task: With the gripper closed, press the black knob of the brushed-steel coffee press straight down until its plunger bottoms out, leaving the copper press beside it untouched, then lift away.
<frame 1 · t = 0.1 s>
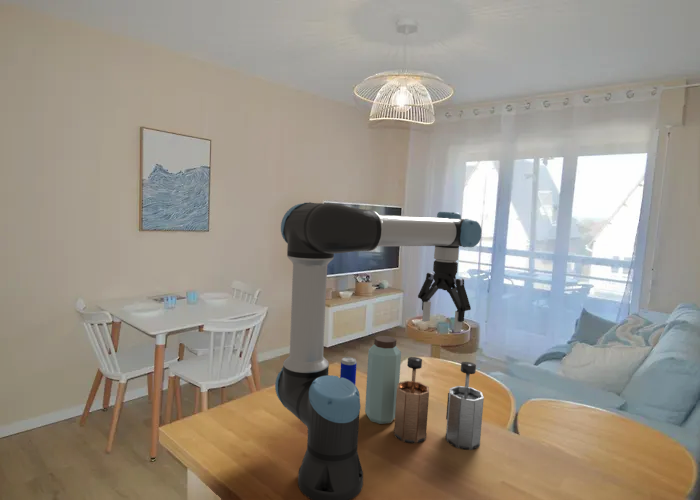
hand: (441, 326, 133), 28 cm above the table, fingers open, 13 cm apart
copper press plunger: (413, 377, 118), point 17 cm above the table, slide at 0.0 cm
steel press: (462, 440, 117), on the table
water bottle: (380, 417, 128), on the table
beverage can: (346, 403, 136), on the table
copper press: (409, 434, 119), on the table
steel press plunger: (467, 382, 116), point 17 cm above the table, slide at 0.0 cm
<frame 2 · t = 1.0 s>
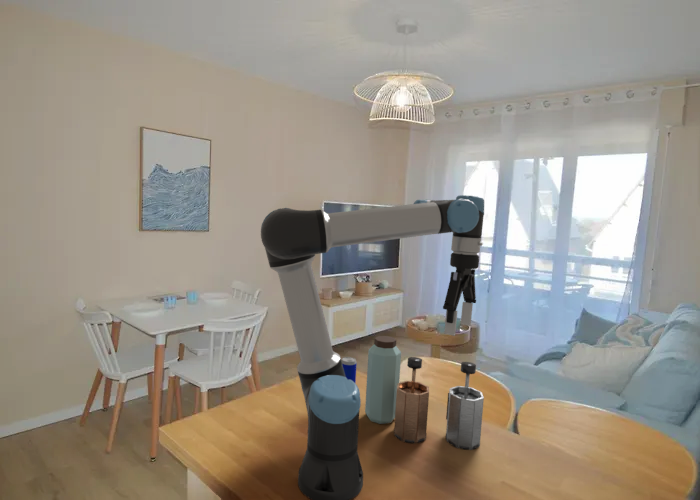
hand: (458, 329, 114), 32 cm above the table, fingers open, 13 cm apart
nothing on the table moved.
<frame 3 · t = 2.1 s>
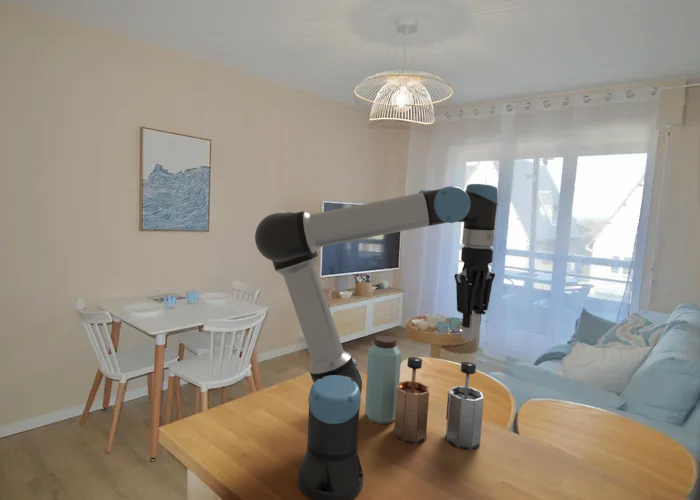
hand: (470, 338, 105), 32 cm above the table, fingers closed
nothing on the table moved.
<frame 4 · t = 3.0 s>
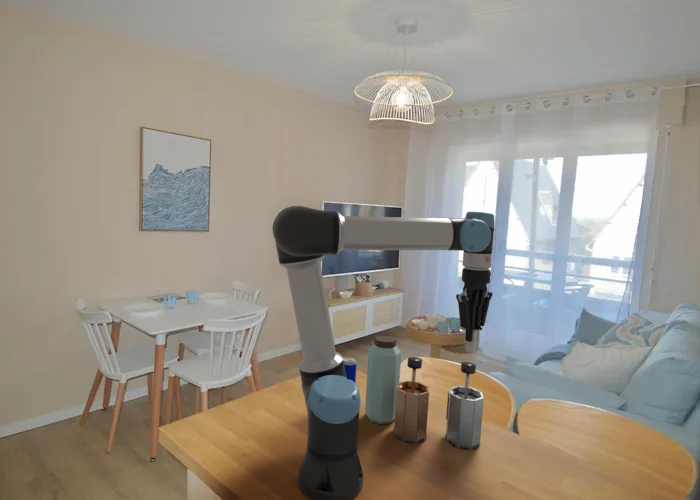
hand: (470, 351, 115), 26 cm above the table, fingers closed
nothing on the table moved.
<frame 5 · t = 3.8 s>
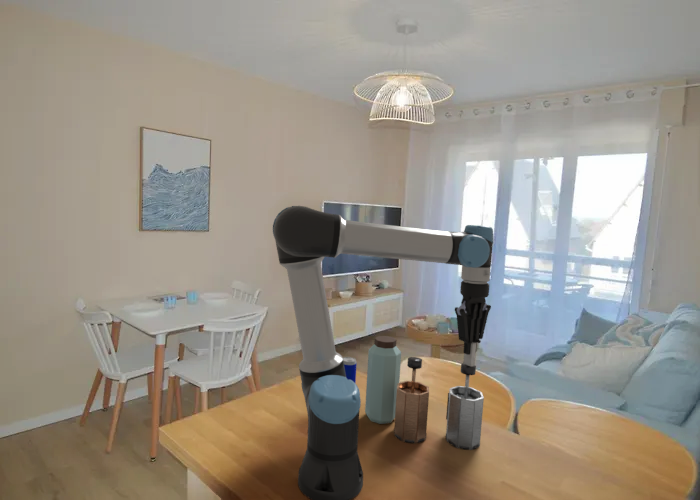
hand: (468, 364, 115), 22 cm above the table, fingers closed
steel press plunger: (467, 383, 116), point 17 cm above the table, slide at 0.3 cm, touching gripper
everything else where it was.
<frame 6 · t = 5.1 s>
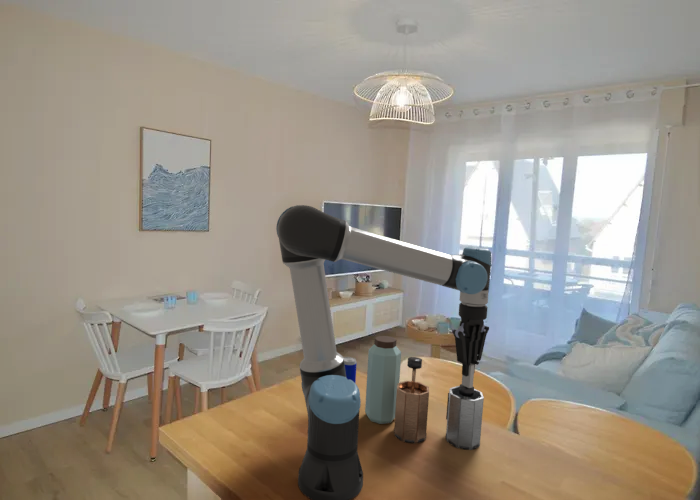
hand: (467, 385, 116), 16 cm above the table, fingers closed
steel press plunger: (465, 404, 116), point 11 cm above the table, slide at 6.5 cm, touching gripper
everything else where it was.
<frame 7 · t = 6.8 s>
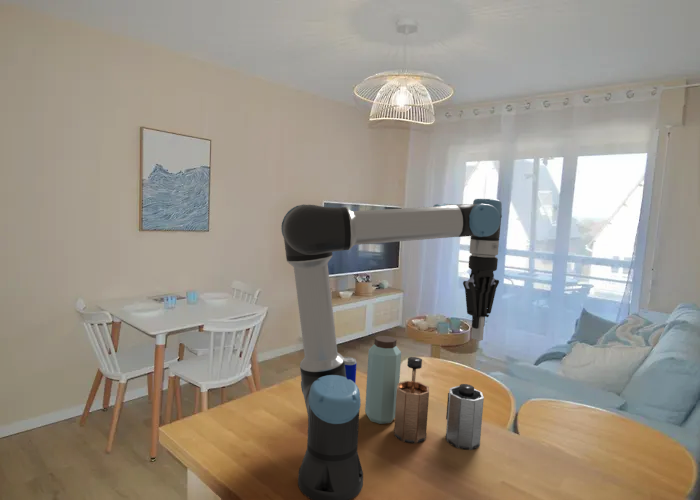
hand: (477, 339, 115), 29 cm above the table, fingers closed
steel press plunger: (465, 405, 116), point 10 cm above the table, slide at 6.5 cm
everything else where it was.
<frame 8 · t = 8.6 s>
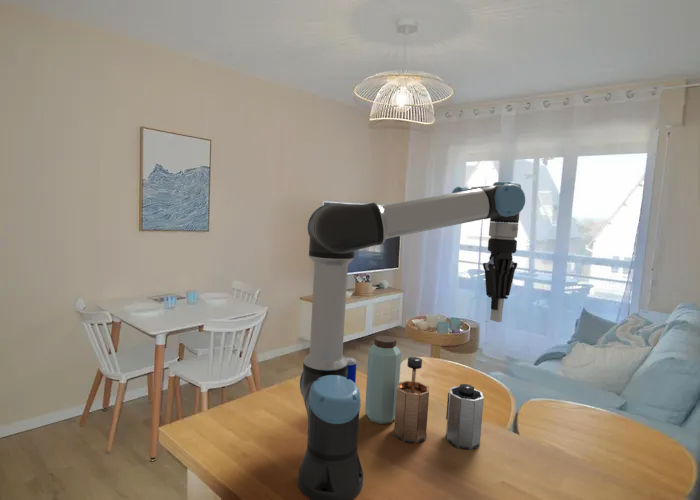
hand: (495, 320, 117), 34 cm above the table, fingers closed
nothing on the table moved.
at the end: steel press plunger slide at 6.5 cm; copper press plunger slide at 0.0 cm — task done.
